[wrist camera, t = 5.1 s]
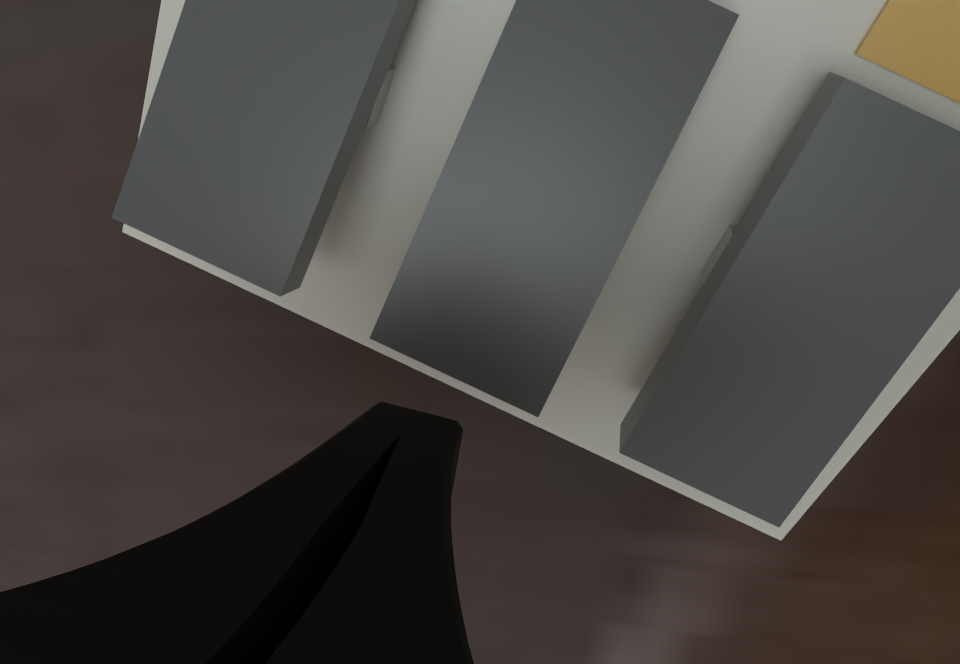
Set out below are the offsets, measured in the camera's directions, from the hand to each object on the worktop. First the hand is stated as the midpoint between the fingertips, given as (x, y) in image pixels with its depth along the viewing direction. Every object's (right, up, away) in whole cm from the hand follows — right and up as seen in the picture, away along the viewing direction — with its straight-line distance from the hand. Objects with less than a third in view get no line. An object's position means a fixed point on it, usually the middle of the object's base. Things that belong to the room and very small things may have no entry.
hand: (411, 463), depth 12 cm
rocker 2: (+2, +5, +4) cm, 7 cm away
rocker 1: (-3, +7, +4) cm, 9 cm away
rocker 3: (+7, +3, +4) cm, 9 cm away
